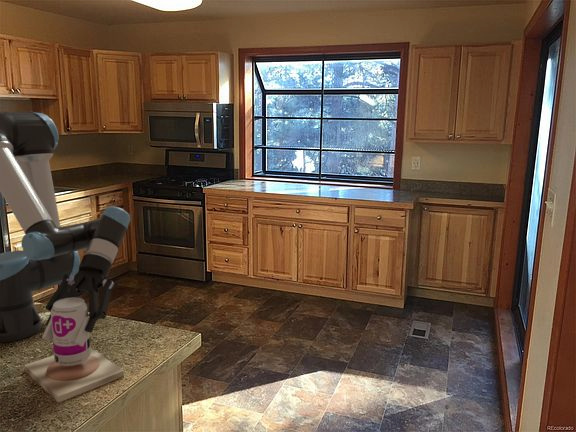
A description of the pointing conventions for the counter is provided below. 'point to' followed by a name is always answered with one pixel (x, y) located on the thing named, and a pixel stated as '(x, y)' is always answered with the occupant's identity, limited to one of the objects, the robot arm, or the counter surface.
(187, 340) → the counter surface
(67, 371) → the mount board
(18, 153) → the robot arm
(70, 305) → the supplement can
